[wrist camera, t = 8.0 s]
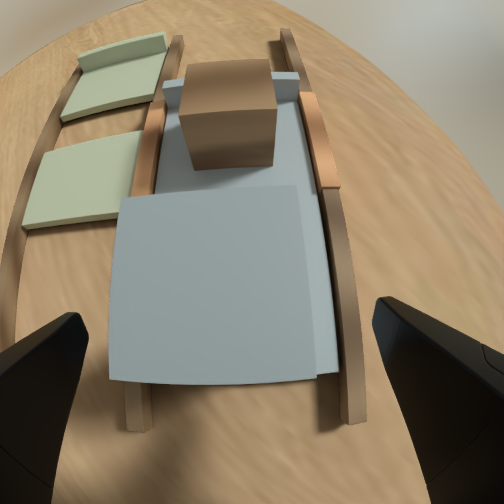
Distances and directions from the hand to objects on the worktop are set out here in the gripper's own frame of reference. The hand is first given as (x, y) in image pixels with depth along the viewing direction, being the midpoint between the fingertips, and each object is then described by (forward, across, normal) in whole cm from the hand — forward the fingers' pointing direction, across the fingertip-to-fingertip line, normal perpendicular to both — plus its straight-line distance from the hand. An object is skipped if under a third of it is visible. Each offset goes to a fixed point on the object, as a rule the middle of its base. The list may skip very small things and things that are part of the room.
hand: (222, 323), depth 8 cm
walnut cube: (+14, 0, -4) cm, 15 cm away
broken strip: (+18, +11, -7) cm, 23 cm away
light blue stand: (+11, 0, 0) cm, 11 cm away
